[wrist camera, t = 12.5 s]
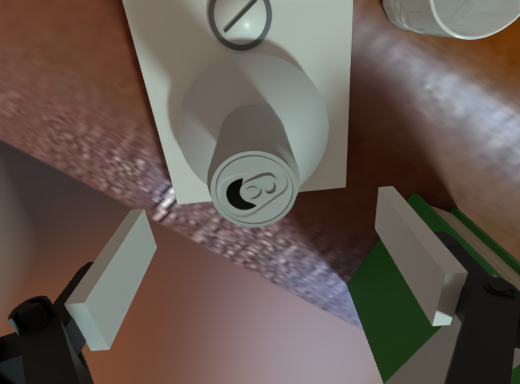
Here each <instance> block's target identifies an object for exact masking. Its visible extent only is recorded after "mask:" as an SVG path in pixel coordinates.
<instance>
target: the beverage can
mask: <svg viewBox="0 0 520 384" xmlns="http://www.w3.org/2000/svg"><path fill="white" fill-rule="evenodd" d="M207 186H208V190H209V194H210V196H211V198H212V201H213V203H214V206H215V207H216V209H217V210H218V212H219V213H220V214H221V215H222V216H223V217H225V218H226V219H227V220H229V221H231V222H233V223H235V224H237V225H240V226H245V227H263V226H267V225H270V224H272V223H275V222H277V221H278V220H280V219H281V218H283V217H284V216H285V215H286V214H287V213H288V212H289V211H290V209H291V208H292V206H293V204H294V202H295V199H296V196H297V193H298V190H299V186H300V173H299V169H298V166H297V163H296V160H295V157H294V154H293V151H292V149H291V146H290V143H289V140H288V137H287V134H286V131H285V128H284V126H283V123H282V121H281V120H280V118H279V117H278V116H277V115H276V114H275V113H274V112H273V111H271V110H270V109H268V108H266V107H263V106H260V105H245V106H242V107H239V108H237V109H235V110H234V111H232V112H231V113H230V114H229V115H228V116H227V117H226V118H225V120H224V122H223V124H222V126H221V129H220V133H219V136H218V139H217V143H216V146H215V149H214V153H213V156H212V159H211V163H210V166H209V169H208V175H207Z"/></svg>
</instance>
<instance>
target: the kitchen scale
mask: <svg viewBox="0 0 520 384" xmlns="http://www.w3.org/2000/svg"><path fill="white" fill-rule="evenodd" d="M122 1H123V5H124V8H125V12H126V16H127V19H128V23H129V27H130V30H131V34H132V38H133V41H134V45H135V49H136V52H137V56H138V60H139V63H140V67H141V71H142V74H143V78H144V82H145V85H146V89H147V93H148V96H149V100H150V104H151V107H152V111H153V115H154V118H155V122H156V126H157V129H158V133H159V137H160V140H161V144H162V148H163V151H164V155H165V159H166V162H167V166H168V170H169V173H170V177H171V181H172V184H173V188H174V192H175V195H176V199H177V203H178V204H186V203H196V202H206V201H212V198H211V196H210V194H209V190H208V186H207V175H208V169H209V166H210V163H211V159H212V156H213V153H214V149H215V146H216V143H217V139H218V136H219V133H220V129H221V126H222V124H223V122H224V120H225V118H226V117H227V116H228V115H229V114H230V113H231V112H232V111H234V110H235V109H237V108H239V107H242V106H245V105H260V106H263V107H266V108H268V109H270V110H271V111H273V112H274V113H275V114H276V115H277V116H278V117H279V118H280V120H281V121H282V123H283V126H284V128H285V131H286V134H287V137H288V140H289V143H290V146H291V149H292V151H293V154H294V157H295V160H296V163H297V166H298V169H299V173H300V186H299V190H298V192H304V191H314V190H324V189H334V188H344V187H346V168H347V142H348V117H349V91H350V65H351V39H352V13H353V0H122Z"/></svg>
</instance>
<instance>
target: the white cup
mask: <svg viewBox="0 0 520 384" xmlns="http://www.w3.org/2000/svg"><path fill="white" fill-rule="evenodd" d="M383 8H384V10H385V12H386V15H387V17H388V19H389V21H390V22H392V23H393V24H394V25H396V26H397V27H399V28H400V29H404V30H412V31H414V32H418V33H423V34H429V35H434V36H444V37H452V38H460V39H479V38H484V37H487V36H490V35H492V34H495V33H497V32H499V31H500V30H502V29H504V28H505V27H507V26H508V25H510V24H511V23H512V22H513V21H515V20H516V19H517V18H518V17H519V16H520V0H383Z"/></svg>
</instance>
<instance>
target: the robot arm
mask: <svg viewBox="0 0 520 384" xmlns="http://www.w3.org/2000/svg"><path fill="white" fill-rule="evenodd" d="M375 230H376V232H377V233H378V235H379V237H380V238H381V240H382V242H383V243H384V245H385V247H386V248H387V250H388V252H389V254H390V255H391V257H392V259H393V260H394V262H395V264H396V265H397V267H398V269H399V271H400V272H401V274H402V276H403V277H404V279H405V281H406V282H407V284H408V286H409V287H410V289H411V291H412V293H413V294H414V296H415V298H416V299H417V301H418V303H419V304H420V306H421V308H422V309H423V311H424V313H425V315H426V316H427V318H428V320H429V321H430V323H431V325H432V326H440V325H452V323H453V320H454V317H455V314H456V316H457V317H458V319H459V320H460V321H461V323H462V324H461V327H460V330H459V333H458V336H457V339H456V344H455V347H454V351H453V354H452V358H451V361H450V364H449V368H448V371H447V375H446V378H445V382H444V384H511V377H512V368H513V360H514V352H515V348H518V349H520V291H518V289H517V288H516V287H515V286H514V285H512V284H511V283H509V282H508V281H506V280H503V279H501V278H498V277H494V276H490V275H489V274H488V272H487V271H486V270H485V269H484V268H483V267H482V266H481V265H480V264H479V263H478V262H477V261H476V260H475V259H474V258H473V257H472V256H471V255H470V254H468V251H467V250H466V249H465V248H464V247H462V245H461V244H460V243H459V242H458V241H457V240H456V239H455V238H454V237H452V236H451V235H449V234H447V233H446V232H444V231H439V232H432V230H431V229H430V228H429V227H428V226H427V225H426V224H425V222H424V221H423V220H422V219H421V218H420V217H419V215H418V214H417V213H416V212H415V211H414V210H413V209H412V207H411V206H410V205H409V204H408V203H407V202H406V201H405V199H404V198H403V197H402V196H401V195H400V194H399V192H398V191H397V190H396V189H395V188H394V187H393V186H387V187H379V189H378V199H377V209H376V220H375ZM156 248H157V246H156V243H155V241H154V238H153V234H152V232H151V229H150V226H149V223H148V220H147V217H146V214H145V211H144V209H139V210H131V211H130V212H129V213H128V215H127V216H126V218H125V219H124V220H123V222H122V223H121V225H120V226H119V228H118V229H117V230H116V232H115V233H114V235H113V236H112V237H111V239H110V240H109V242H108V243H107V245H106V246H105V247H104V249H103V250H102V252H101V253H100V254H99V256H98V257H97V259H96V260H95V261H94V262H88V263H87V264H86V265H84V266H83V267H82V268H81V269H79V270H78V271H77V273H76V274H75V275H74V277H73V278H72V280H71V281H70V282H69V284H68V285H67V287H66V288H65V289H64V290H63V291H62V293H61V294H60V295H59V297H58V298H57V300H56V301H55V302H54V304H52V303H51V301H50V299H48V297H47V296H37V297H33V298H31V299H28V300H26V301H24V302H23V303H21V304H20V305H18V306H17V307H16V308H15V309H14V310H13V311H12V312H11V314H10V315H9V318H8V321H9V323H10V324H11V325H12V327H13V328H14V329H15V331H16V332H15V333H12V334H8V335H5V336H2V337H0V384H94V383H93V380H92V377H91V374H90V371H89V368H88V365H87V362H86V360H85V357H84V355H83V353H82V351H81V350H82V348H83V346H84V345H85V343H86V342H87V344H88V346H89V348H90V349H91V351H95V350H109V349H110V347H111V345H112V343H113V341H114V338H115V336H116V334H117V332H118V330H119V328H120V325H121V323H122V321H123V319H124V317H125V315H126V313H127V310H128V308H129V306H130V304H131V302H132V300H133V298H134V295H135V293H136V291H137V289H138V287H139V285H140V283H141V280H142V278H143V276H144V274H145V272H146V270H147V267H148V265H149V263H150V261H151V259H152V257H153V254H154V252H155V250H156Z"/></svg>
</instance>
